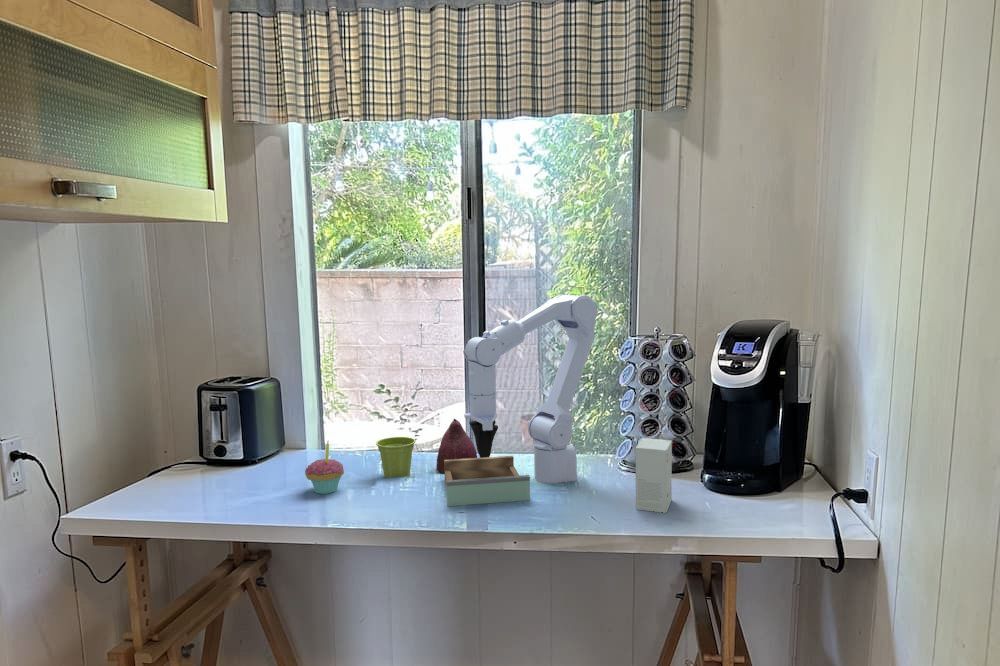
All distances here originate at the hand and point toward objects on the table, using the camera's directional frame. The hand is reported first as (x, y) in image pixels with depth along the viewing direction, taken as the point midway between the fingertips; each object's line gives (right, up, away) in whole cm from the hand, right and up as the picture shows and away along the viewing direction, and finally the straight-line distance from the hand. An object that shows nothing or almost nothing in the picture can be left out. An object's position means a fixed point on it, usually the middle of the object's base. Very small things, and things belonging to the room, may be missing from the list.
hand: (483, 455), depth 134 cm
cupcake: (-36, -10, +7) cm, 38 cm away
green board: (+1, -9, -5) cm, 10 cm away
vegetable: (-7, -8, +22) cm, 24 cm away
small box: (+35, -10, -5) cm, 37 cm away
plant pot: (-22, -9, +17) cm, 29 cm away
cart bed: (0, -9, +3) cm, 10 cm away
